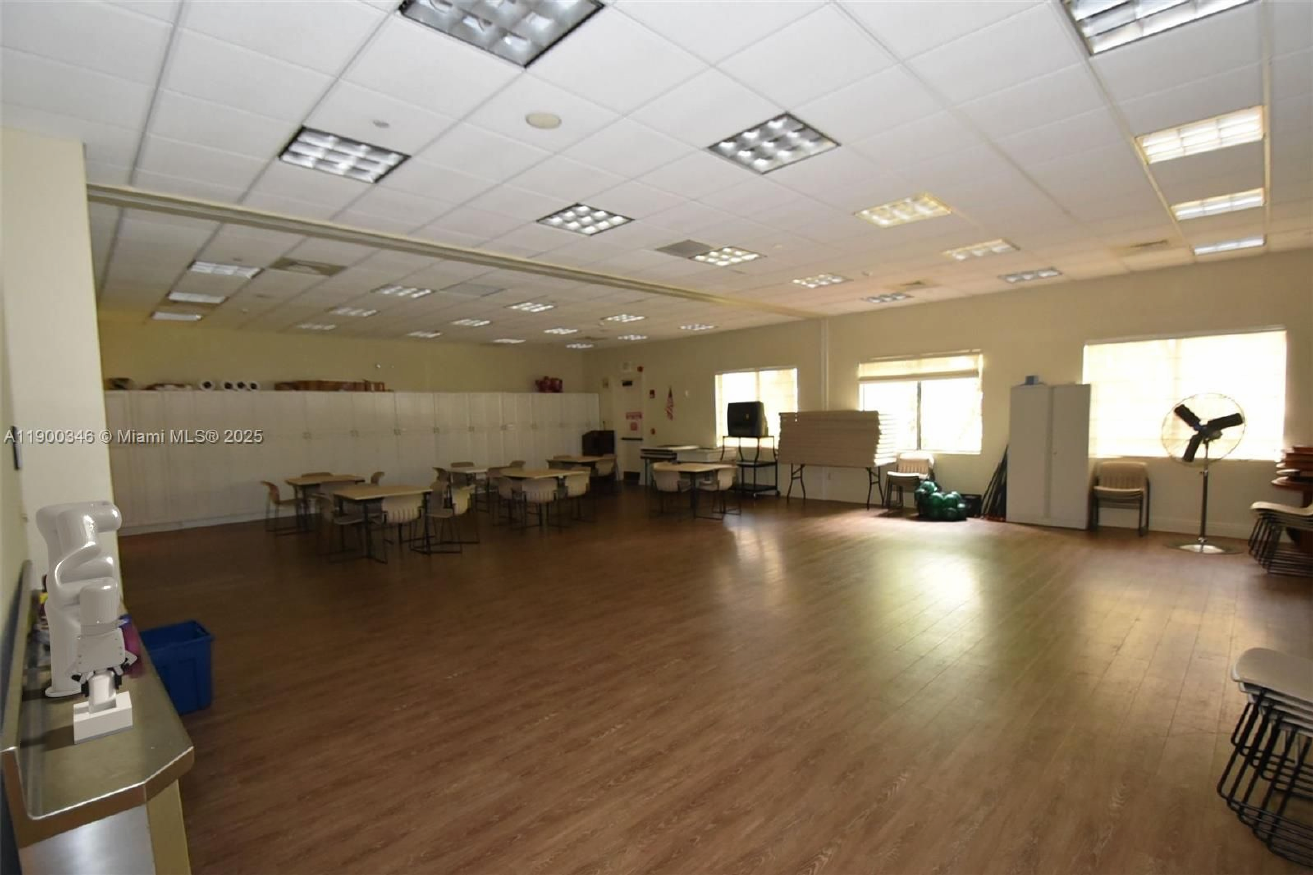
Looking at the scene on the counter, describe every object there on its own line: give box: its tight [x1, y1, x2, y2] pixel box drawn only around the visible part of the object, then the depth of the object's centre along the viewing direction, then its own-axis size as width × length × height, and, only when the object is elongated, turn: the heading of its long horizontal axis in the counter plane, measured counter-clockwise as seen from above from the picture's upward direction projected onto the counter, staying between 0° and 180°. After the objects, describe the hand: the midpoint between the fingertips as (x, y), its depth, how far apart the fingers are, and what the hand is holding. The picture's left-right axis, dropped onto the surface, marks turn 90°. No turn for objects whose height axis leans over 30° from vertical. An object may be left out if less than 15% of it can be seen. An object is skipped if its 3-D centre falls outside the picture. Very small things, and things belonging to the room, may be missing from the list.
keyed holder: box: [73, 690, 134, 745], centre depth 167 cm, size 14×12×6 cm
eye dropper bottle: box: [87, 668, 117, 706], centre depth 166 cm, size 4×6×12 cm
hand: (102, 691), depth 167 cm, fingers closed on eye dropper bottle, 5 cm apart
